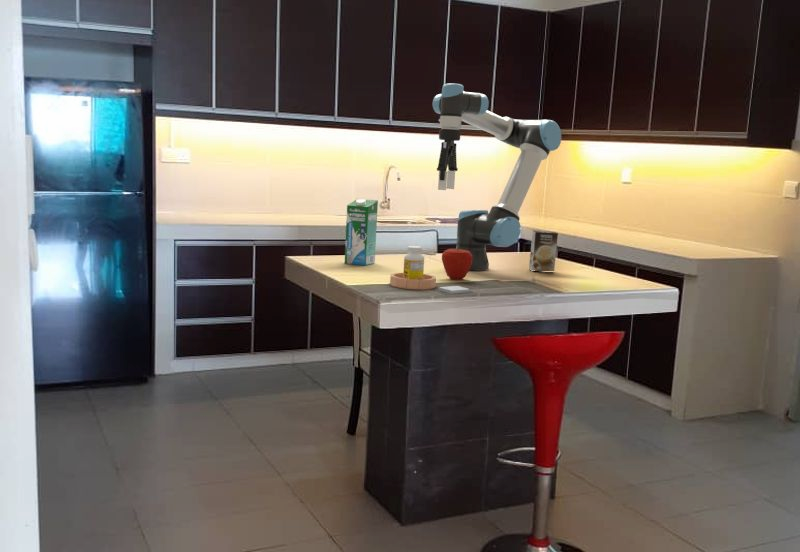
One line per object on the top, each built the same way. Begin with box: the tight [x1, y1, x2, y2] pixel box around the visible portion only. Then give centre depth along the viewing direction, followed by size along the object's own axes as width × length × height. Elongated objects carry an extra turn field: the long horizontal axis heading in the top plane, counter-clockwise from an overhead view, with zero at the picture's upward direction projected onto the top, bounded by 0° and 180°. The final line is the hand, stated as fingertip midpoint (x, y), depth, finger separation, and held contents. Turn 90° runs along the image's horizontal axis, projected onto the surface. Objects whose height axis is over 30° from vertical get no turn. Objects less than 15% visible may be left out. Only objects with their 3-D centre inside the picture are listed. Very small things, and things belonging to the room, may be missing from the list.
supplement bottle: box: [402, 245, 425, 280], centre depth 255 cm, size 7×7×13 cm
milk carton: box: [344, 198, 379, 266], centre depth 302 cm, size 9×9×25 cm
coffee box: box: [528, 230, 559, 272], centre depth 308 cm, size 9×6×16 cm
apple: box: [441, 247, 473, 281], centre depth 274 cm, size 11×11×12 cm
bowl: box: [389, 272, 437, 290], centre depth 256 cm, size 15×15×4 cm
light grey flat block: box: [438, 285, 471, 295], centre depth 249 cm, size 8×6×1 cm
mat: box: [430, 288, 477, 296], centre depth 249 cm, size 12×9×1 cm
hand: (446, 189), depth 275 cm, fingers open, 13 cm apart
